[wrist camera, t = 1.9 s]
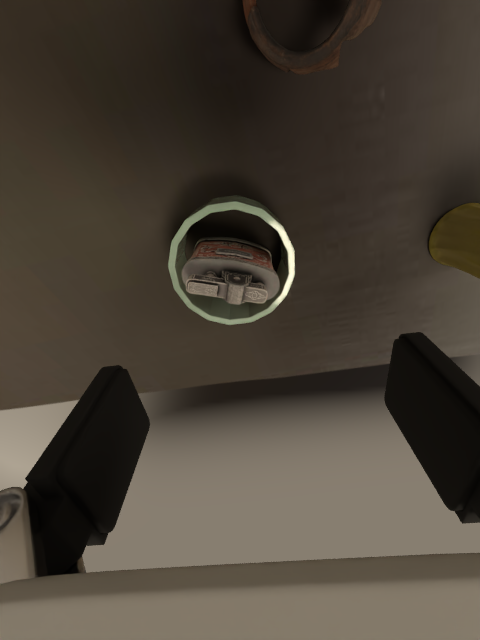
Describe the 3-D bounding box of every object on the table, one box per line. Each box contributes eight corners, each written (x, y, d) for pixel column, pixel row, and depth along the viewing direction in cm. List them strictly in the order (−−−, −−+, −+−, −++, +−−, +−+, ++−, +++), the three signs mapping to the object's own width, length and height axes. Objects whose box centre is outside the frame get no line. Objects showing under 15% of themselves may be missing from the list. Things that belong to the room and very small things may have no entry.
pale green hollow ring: (192, 307, 32) (184, 330, 27) (167, 204, 26) (153, 212, 22) (288, 296, 31) (296, 317, 27) (284, 188, 26) (292, 193, 21)
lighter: (274, 244, 28) (289, 280, 19) (267, 275, 30) (278, 321, 21) (196, 231, 27) (175, 263, 19) (193, 263, 29) (174, 306, 20)
